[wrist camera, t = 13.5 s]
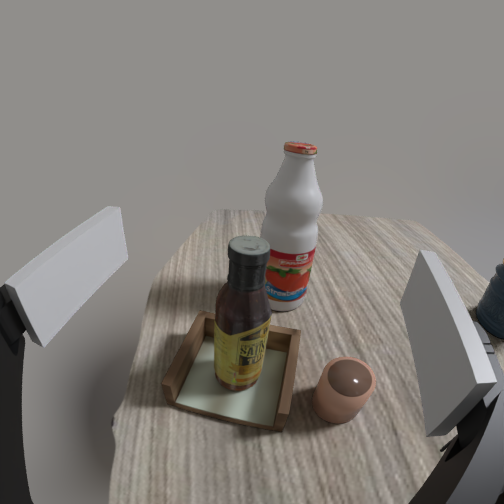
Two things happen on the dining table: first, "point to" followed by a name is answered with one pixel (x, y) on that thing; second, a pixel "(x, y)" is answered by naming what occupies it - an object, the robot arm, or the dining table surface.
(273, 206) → the fruit juice
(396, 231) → the dining table surface
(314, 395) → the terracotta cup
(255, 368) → the sauce bottle
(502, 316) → the canister
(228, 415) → the wooden tray
